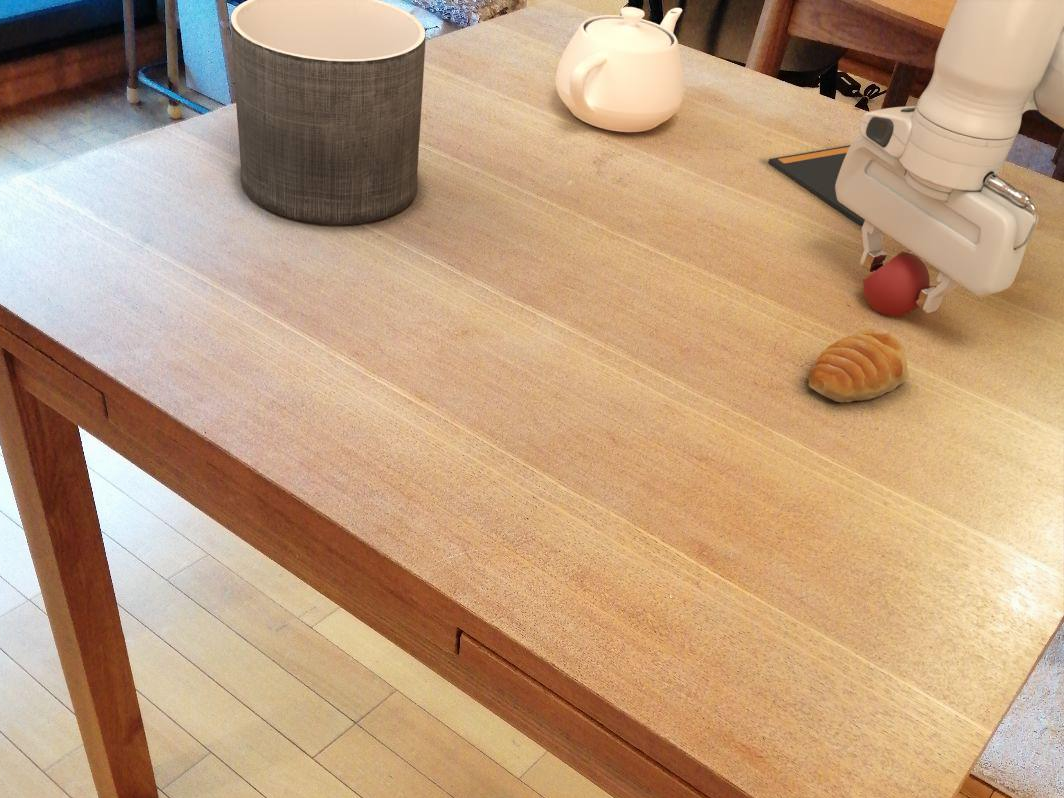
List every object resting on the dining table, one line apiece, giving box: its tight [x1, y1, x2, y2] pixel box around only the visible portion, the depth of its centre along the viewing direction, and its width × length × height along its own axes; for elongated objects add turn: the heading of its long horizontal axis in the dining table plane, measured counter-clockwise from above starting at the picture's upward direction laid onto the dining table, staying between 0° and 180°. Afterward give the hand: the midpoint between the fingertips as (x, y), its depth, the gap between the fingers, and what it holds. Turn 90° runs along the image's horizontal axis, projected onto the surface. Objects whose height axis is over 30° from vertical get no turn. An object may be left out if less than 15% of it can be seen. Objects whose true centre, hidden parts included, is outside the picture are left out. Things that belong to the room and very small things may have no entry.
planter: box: [229, 0, 427, 225], centre depth 106 cm, size 18×18×16 cm
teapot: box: [554, 6, 686, 133], centre depth 130 cm, size 25×16×12 cm, turn 147°
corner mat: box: [768, 144, 865, 227], centre depth 128 cm, size 20×16×1 cm
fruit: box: [862, 250, 938, 318], centre depth 105 cm, size 6×6×8 cm
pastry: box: [808, 328, 910, 404], centre depth 95 cm, size 9×7×4 cm
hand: (896, 287), depth 106 cm, fingers closed on fruit, 6 cm apart
